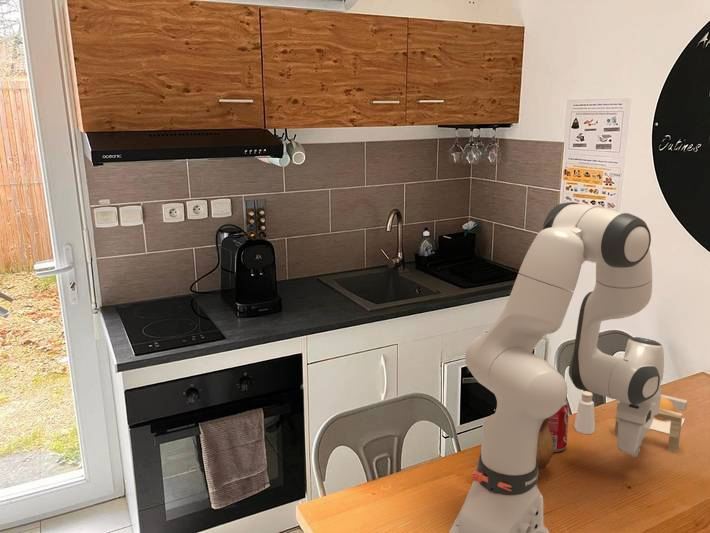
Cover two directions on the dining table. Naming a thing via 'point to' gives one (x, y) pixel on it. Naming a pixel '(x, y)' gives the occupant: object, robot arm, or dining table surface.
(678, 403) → the wooden block bar
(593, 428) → the salt shaker
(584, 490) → the dining table surface
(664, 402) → the ball
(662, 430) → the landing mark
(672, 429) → the bridge
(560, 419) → the soda can
